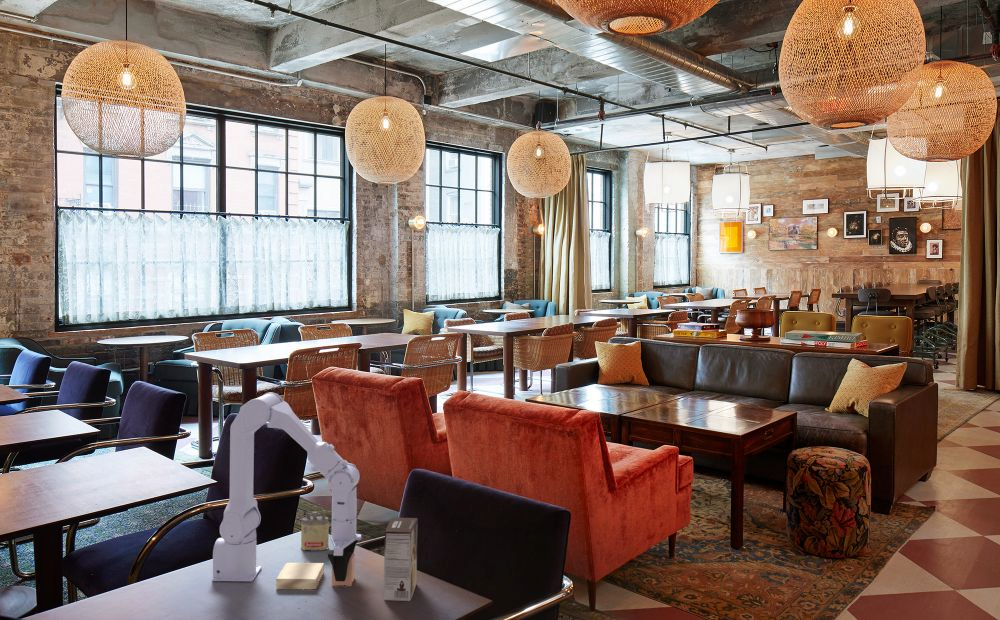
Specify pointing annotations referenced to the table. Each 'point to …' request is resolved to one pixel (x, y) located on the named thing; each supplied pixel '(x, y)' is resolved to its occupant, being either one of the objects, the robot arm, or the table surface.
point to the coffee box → (400, 559)
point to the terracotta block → (349, 575)
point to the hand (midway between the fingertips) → (343, 573)
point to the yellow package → (314, 531)
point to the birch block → (300, 576)
